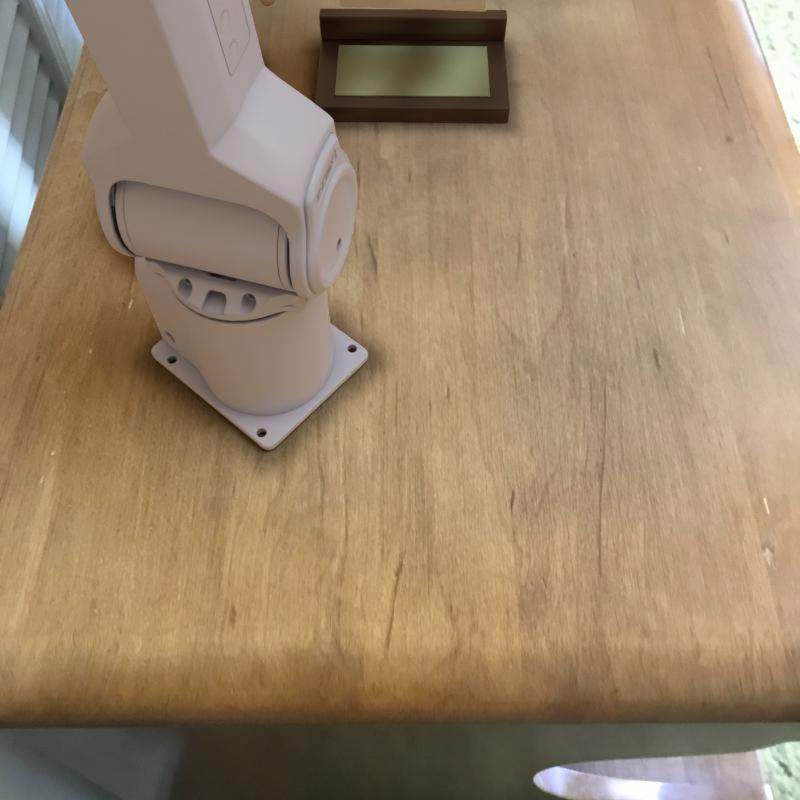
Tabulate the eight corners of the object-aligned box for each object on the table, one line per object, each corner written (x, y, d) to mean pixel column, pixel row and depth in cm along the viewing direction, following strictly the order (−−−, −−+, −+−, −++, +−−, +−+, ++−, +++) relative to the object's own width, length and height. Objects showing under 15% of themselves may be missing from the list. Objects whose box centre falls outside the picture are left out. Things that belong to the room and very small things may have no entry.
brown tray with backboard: (316, 121, 56) (311, 84, 54) (323, 45, 60) (319, 7, 58) (508, 123, 56) (513, 86, 54) (502, 47, 60) (506, 9, 58)
